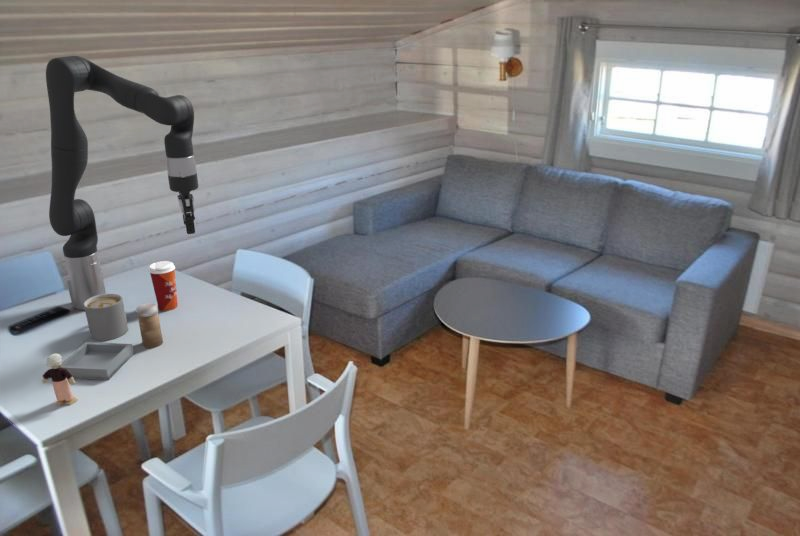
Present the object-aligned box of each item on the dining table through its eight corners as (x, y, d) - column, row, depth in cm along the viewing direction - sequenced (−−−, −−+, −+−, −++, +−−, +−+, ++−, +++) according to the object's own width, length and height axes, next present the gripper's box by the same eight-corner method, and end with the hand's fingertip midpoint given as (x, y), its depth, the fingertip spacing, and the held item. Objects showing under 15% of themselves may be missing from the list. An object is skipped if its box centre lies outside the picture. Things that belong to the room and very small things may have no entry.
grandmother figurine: (84, 395, 153) (73, 349, 148) (79, 404, 150) (67, 357, 145) (50, 398, 152) (38, 351, 147) (44, 407, 149) (31, 360, 144)
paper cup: (176, 312, 195) (169, 269, 190) (151, 312, 195) (143, 269, 190) (184, 301, 202) (178, 260, 197) (160, 301, 202) (153, 260, 197)
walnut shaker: (139, 347, 175) (132, 311, 170) (148, 338, 180) (141, 302, 175) (158, 348, 174) (151, 312, 170) (166, 339, 179) (160, 303, 175)
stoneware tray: (59, 377, 161) (57, 367, 160) (88, 351, 173) (85, 342, 172) (108, 379, 160) (106, 369, 158) (133, 353, 171) (132, 344, 170)
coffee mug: (124, 338, 180) (118, 306, 176) (86, 342, 178) (79, 309, 174) (133, 317, 192) (127, 287, 188) (98, 321, 190) (91, 290, 186)
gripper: (165, 167, 178) (173, 223, 184) (169, 179, 166) (177, 238, 172) (193, 165, 181) (200, 220, 187) (199, 176, 169) (206, 235, 175)
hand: (189, 228), depth 179 cm, fingers open, 8 cm apart
